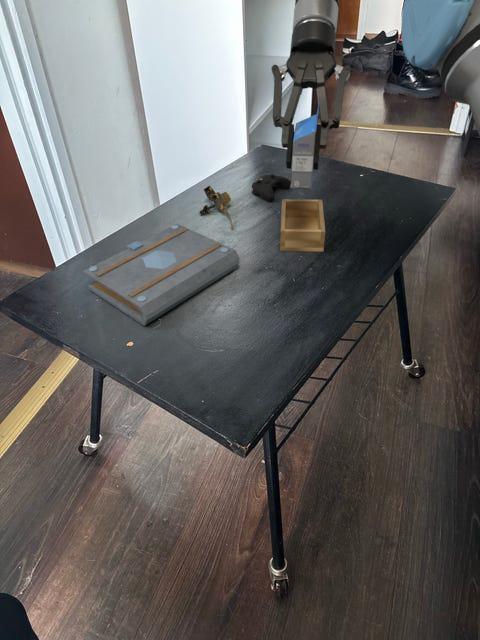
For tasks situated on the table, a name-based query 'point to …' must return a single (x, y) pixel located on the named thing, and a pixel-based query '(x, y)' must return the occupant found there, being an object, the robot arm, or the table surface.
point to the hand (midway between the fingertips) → (302, 165)
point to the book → (161, 272)
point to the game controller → (269, 186)
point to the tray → (302, 225)
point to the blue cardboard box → (304, 153)
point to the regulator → (217, 202)
